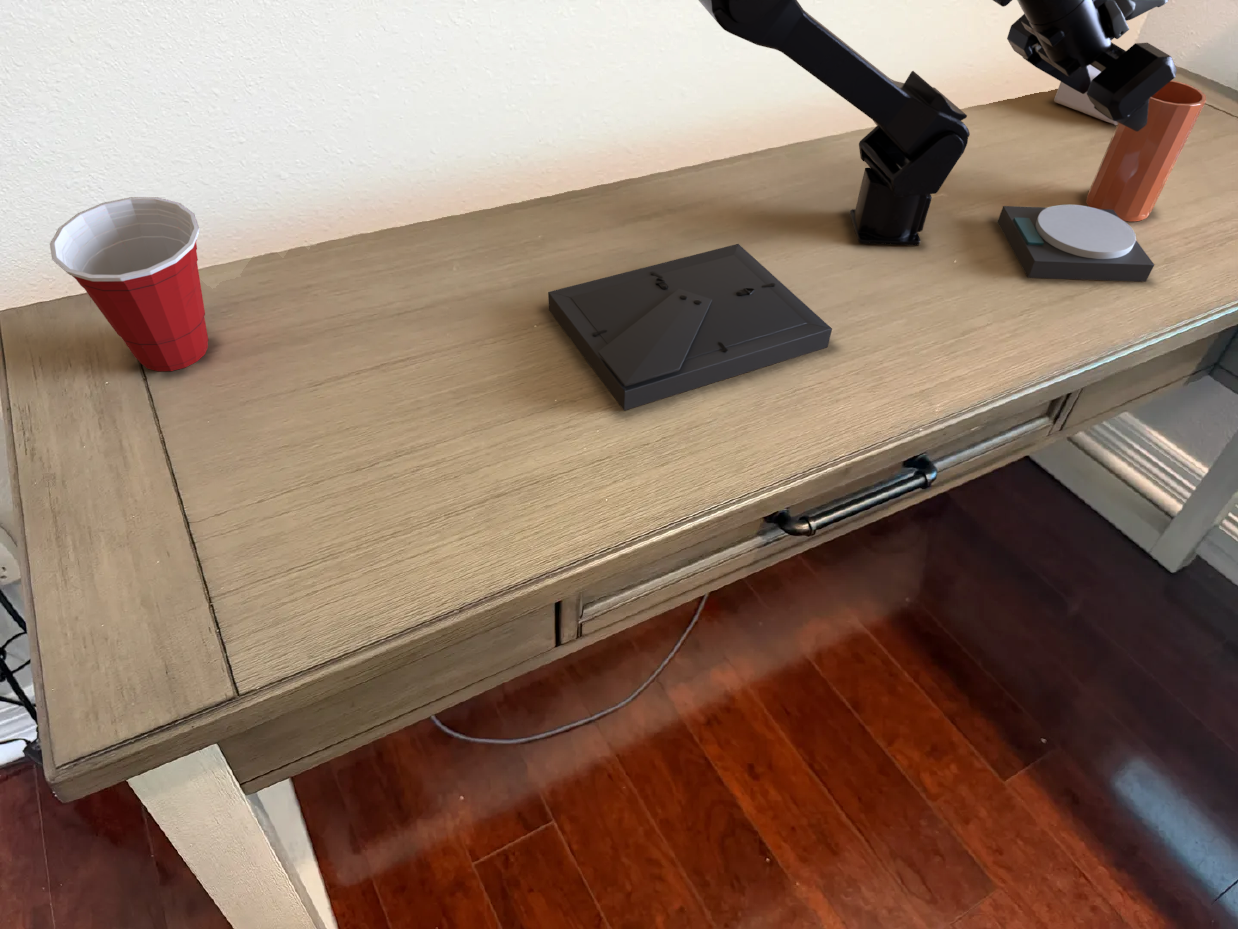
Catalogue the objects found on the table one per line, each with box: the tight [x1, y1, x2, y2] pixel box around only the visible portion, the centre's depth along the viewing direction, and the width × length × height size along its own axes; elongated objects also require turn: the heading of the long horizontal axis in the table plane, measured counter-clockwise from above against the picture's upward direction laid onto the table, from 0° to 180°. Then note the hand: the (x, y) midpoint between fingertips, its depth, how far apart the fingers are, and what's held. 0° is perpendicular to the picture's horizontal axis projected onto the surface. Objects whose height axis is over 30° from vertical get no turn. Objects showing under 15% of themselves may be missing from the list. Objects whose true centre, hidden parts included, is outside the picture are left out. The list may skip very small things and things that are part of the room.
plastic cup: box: [49, 196, 209, 372], centre depth 74 cm, size 11×11×12 cm
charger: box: [1053, 65, 1118, 126], centre depth 117 cm, size 5×9×15 cm
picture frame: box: [547, 243, 833, 412], centre depth 81 cm, size 16×3×21 cm
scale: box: [997, 203, 1155, 283], centre depth 93 cm, size 12×11×3 cm
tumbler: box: [1085, 79, 1207, 222], centre depth 97 cm, size 7×7×13 cm
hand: (1113, 108), depth 92 cm, fingers open, 9 cm apart
